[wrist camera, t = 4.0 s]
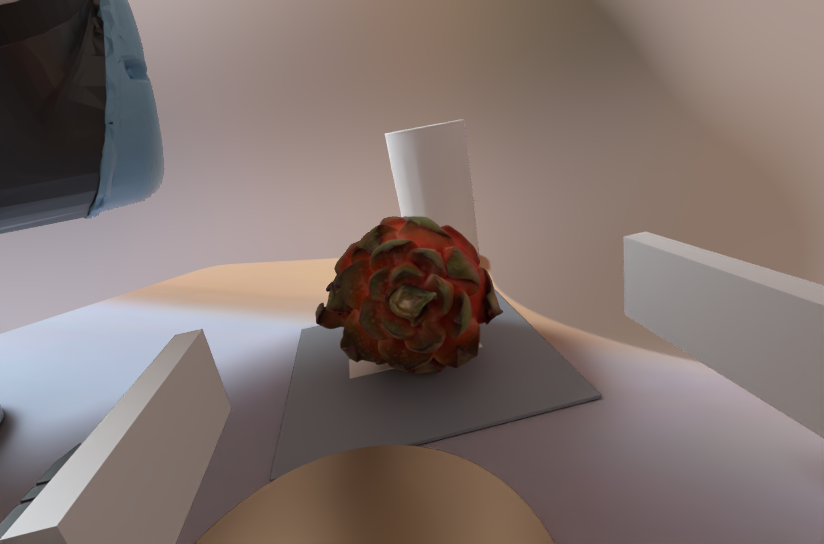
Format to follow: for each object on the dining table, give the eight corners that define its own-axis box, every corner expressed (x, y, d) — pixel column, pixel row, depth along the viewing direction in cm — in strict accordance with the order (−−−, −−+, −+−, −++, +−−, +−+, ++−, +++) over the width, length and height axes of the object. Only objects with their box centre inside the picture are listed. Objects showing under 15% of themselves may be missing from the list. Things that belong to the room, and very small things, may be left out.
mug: (497, 259, 37) (481, 116, 34) (431, 281, 35) (405, 130, 31) (441, 241, 46) (423, 126, 42) (385, 258, 44) (360, 138, 40)
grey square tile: (270, 482, 17) (269, 478, 17) (302, 331, 30) (301, 329, 30) (601, 397, 18) (601, 393, 18) (491, 288, 31) (491, 286, 31)
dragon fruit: (474, 453, 18) (382, 370, 29) (576, 293, 20) (452, 272, 31) (316, 345, 15) (280, 298, 26) (451, 166, 17) (363, 193, 28)
